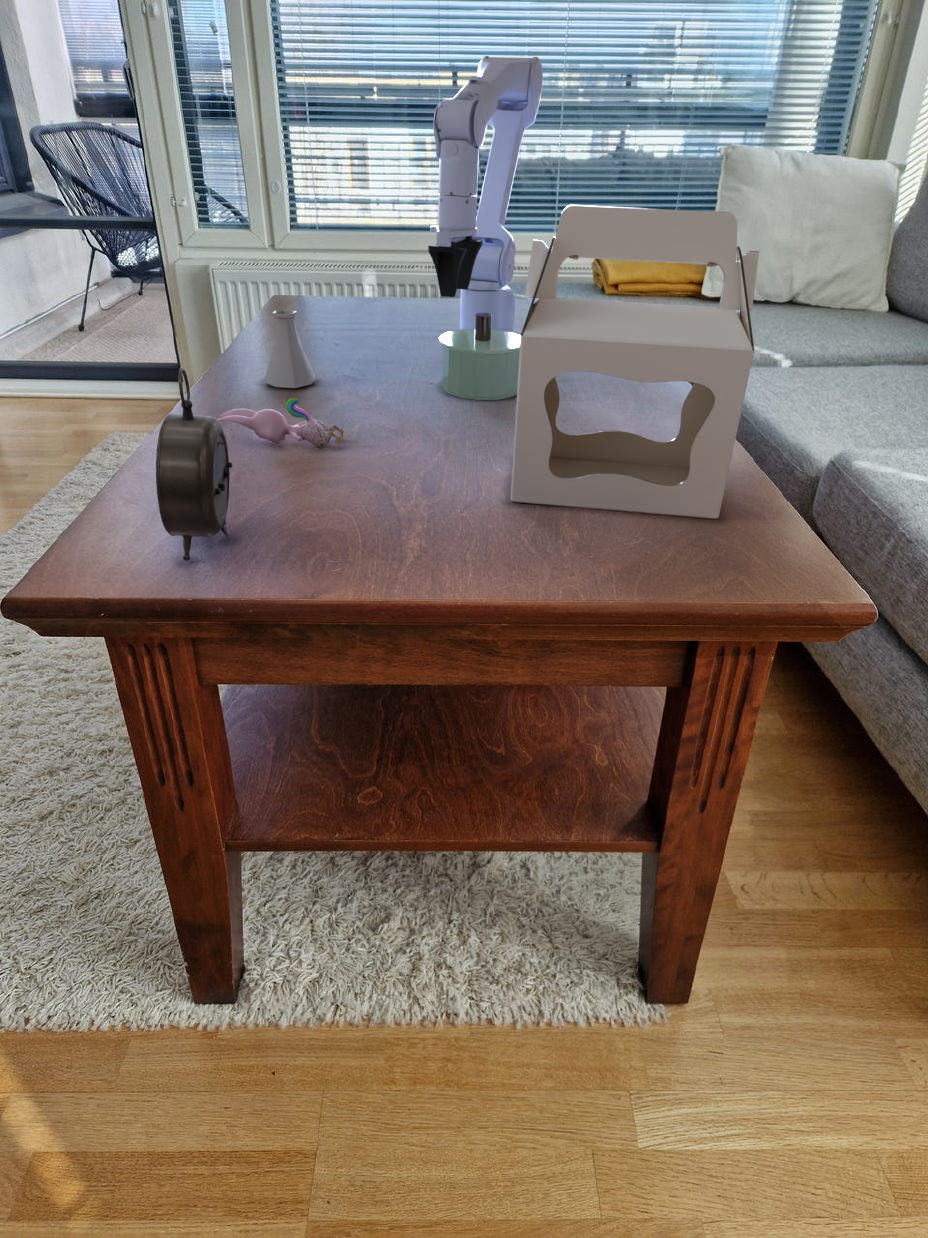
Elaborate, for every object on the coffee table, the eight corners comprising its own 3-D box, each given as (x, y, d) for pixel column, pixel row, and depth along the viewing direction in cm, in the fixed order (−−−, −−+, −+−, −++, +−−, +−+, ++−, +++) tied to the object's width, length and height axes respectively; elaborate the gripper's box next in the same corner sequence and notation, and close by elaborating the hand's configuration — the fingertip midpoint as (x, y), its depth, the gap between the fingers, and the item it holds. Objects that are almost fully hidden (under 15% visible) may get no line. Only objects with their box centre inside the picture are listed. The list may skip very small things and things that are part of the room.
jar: (481, 372, 129) (482, 329, 125) (537, 389, 122) (540, 345, 119) (426, 386, 122) (426, 341, 118) (482, 405, 115) (484, 359, 112)
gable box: (707, 471, 97) (759, 206, 82) (720, 520, 86) (784, 223, 70) (518, 457, 99) (535, 196, 84) (507, 502, 88) (525, 211, 73)
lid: (481, 331, 127) (483, 301, 124) (543, 348, 119) (546, 316, 117) (420, 344, 119) (420, 312, 117) (483, 363, 112) (484, 329, 109)
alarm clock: (189, 515, 83) (162, 351, 74) (244, 514, 83) (223, 351, 75) (165, 568, 74) (131, 388, 65) (227, 567, 74) (202, 388, 66)
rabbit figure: (343, 445, 104) (224, 423, 103) (349, 400, 101) (226, 376, 100) (336, 464, 99) (210, 440, 98) (341, 416, 96) (211, 391, 94)
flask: (324, 379, 123) (320, 309, 118) (296, 392, 118) (291, 319, 112) (284, 372, 126) (278, 303, 120) (255, 384, 120) (247, 313, 115)
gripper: (445, 190, 129) (443, 283, 136) (416, 195, 117) (415, 297, 123) (489, 193, 127) (484, 287, 134) (464, 198, 115) (461, 301, 122)
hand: (454, 292), depth 129 cm, fingers open, 7 cm apart
